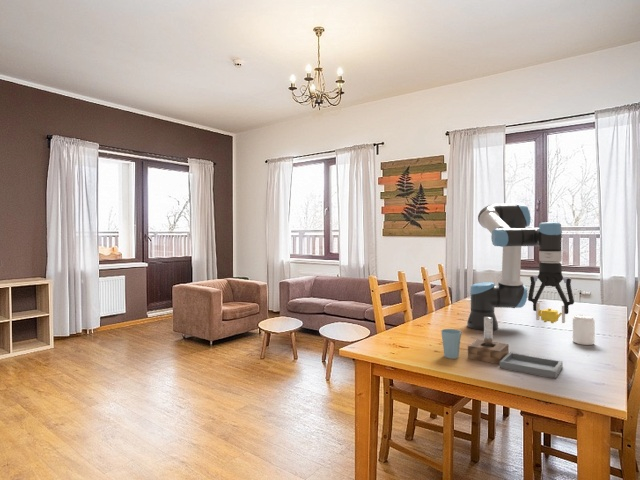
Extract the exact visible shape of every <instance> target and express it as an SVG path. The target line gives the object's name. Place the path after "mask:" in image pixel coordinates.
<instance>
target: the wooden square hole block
mask: <svg viewBox="0 0 640 480" xmlns="http://www.w3.org/2000/svg"><path fill="white" fill-rule="evenodd" d="M509 348H510V346H509V344H508V343H504V342H497V341H493V347H487V346H484V339H479V338H477V339H476V340H474V341H473V342H471V343H470V344H468V345H467V359H470V360H475V361H480V362H484V363H485V362H486V363H492V364H497V365H500V361H501V360H502V359H503V358H504V357H505V356H506V355H507V354H508V353H510V350H509Z"/></svg>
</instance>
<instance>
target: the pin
mask: <svg viewBox="0 0 640 480" xmlns="http://www.w3.org/2000/svg"><path fill="white" fill-rule="evenodd" d="M493 332H494V330H493V318H492V317H484V330H483V340H484V346H487V347H493V342H494V341H493V339H494V338H493V337H494V335H493V334H494V333H493Z"/></svg>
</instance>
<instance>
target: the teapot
mask: <svg viewBox="0 0 640 480" xmlns="http://www.w3.org/2000/svg"><path fill="white" fill-rule="evenodd" d="M539 316H540V319H541V321H543V323H547V322H550V323H551V324H554V323H556V322H558V321H559V318H560V317H562V312H559V310H555V309H552V308H547V309H545V308H544V309H540V310H539Z"/></svg>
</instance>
